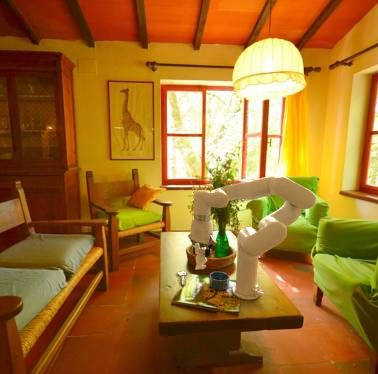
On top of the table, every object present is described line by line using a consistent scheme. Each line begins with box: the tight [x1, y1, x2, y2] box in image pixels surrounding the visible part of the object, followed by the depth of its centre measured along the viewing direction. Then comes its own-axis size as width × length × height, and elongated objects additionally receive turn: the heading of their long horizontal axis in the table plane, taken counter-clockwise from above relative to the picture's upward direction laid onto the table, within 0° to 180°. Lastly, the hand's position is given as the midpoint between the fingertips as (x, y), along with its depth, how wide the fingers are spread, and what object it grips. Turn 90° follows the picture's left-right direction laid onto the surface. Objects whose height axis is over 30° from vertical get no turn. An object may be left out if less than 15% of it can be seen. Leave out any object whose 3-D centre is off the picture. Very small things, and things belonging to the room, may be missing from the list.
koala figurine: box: [191, 242, 208, 271], centre depth 119 cm, size 8×7×12 cm
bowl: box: [208, 271, 231, 291], centre depth 126 cm, size 10×10×5 cm
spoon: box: [177, 270, 187, 286], centre depth 132 cm, size 14×4×1 cm, turn 4°
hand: (201, 254), depth 118 cm, fingers closed on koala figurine, 6 cm apart
